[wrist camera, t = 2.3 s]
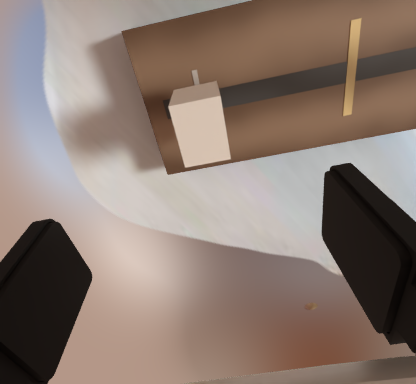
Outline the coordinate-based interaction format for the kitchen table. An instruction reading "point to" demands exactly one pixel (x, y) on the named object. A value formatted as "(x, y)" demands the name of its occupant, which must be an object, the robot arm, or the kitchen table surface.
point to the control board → (283, 72)
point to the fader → (199, 124)
